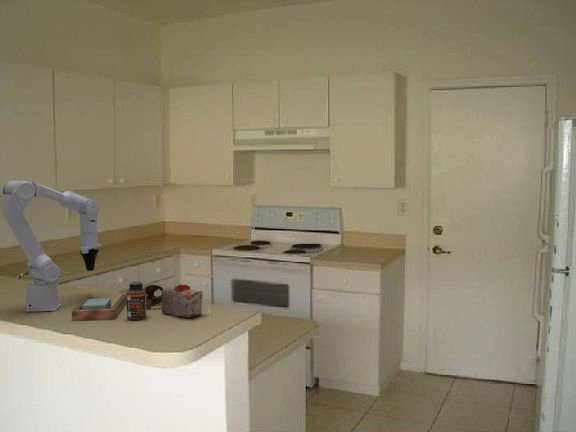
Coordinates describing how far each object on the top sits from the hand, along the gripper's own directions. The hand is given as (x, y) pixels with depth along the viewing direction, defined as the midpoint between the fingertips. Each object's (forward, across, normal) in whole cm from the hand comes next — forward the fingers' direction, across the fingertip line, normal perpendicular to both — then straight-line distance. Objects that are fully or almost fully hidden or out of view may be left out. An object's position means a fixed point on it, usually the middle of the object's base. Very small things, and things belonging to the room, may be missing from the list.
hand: (90, 270), depth 206 cm
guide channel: (+10, -17, -7) cm, 21 cm away
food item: (+11, -26, -34) cm, 44 cm away
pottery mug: (+11, -12, -22) cm, 27 cm away
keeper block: (+11, -22, -7) cm, 26 cm away
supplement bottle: (+11, -28, -20) cm, 36 cm away
